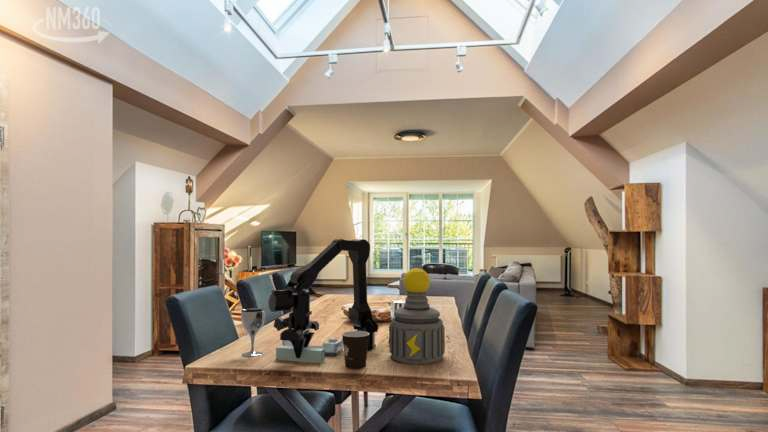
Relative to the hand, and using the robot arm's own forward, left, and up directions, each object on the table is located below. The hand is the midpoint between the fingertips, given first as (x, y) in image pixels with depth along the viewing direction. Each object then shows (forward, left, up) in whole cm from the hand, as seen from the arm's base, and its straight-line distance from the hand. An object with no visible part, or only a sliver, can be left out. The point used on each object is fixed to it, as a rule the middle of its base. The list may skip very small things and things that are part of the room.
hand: (300, 356), depth 139 cm
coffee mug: (-19, +1, -1) cm, 19 cm away
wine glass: (+19, -3, -1) cm, 19 cm away
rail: (0, 0, -1) cm, 1 cm away
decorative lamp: (-37, -12, -1) cm, 39 cm away
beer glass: (-27, -35, -1) cm, 44 cm away
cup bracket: (0, -11, -1) cm, 11 cm away
